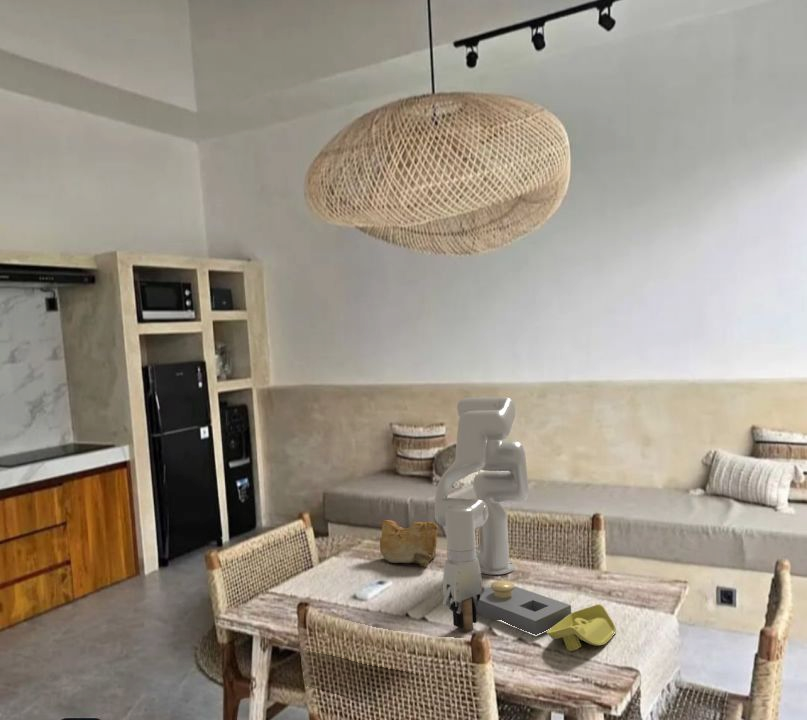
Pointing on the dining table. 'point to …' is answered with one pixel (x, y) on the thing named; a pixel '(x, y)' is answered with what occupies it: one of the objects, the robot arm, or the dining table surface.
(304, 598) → the dining table surface
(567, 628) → the plastic component
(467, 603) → the gear shaft
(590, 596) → the dining table surface
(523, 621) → the grey block with hole
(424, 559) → the rough brown rock
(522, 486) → the robot arm
